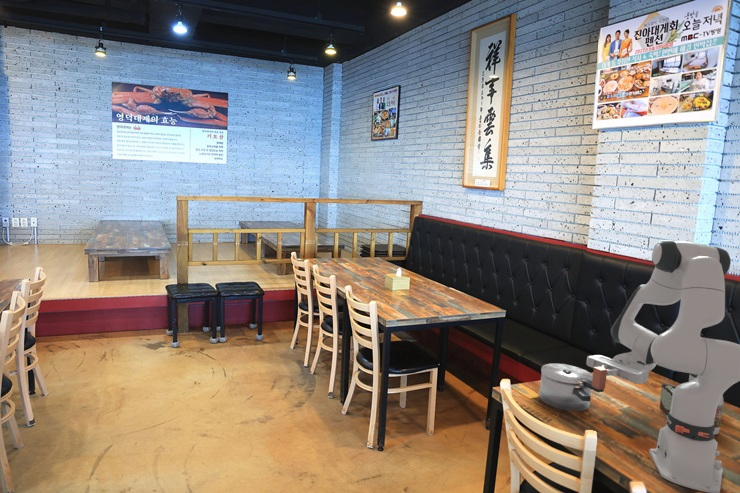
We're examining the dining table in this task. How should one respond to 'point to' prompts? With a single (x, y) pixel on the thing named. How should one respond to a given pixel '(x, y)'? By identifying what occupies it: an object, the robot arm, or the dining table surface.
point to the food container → (666, 397)
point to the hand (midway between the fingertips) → (603, 371)
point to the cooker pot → (564, 395)
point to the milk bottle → (718, 415)
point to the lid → (576, 376)
